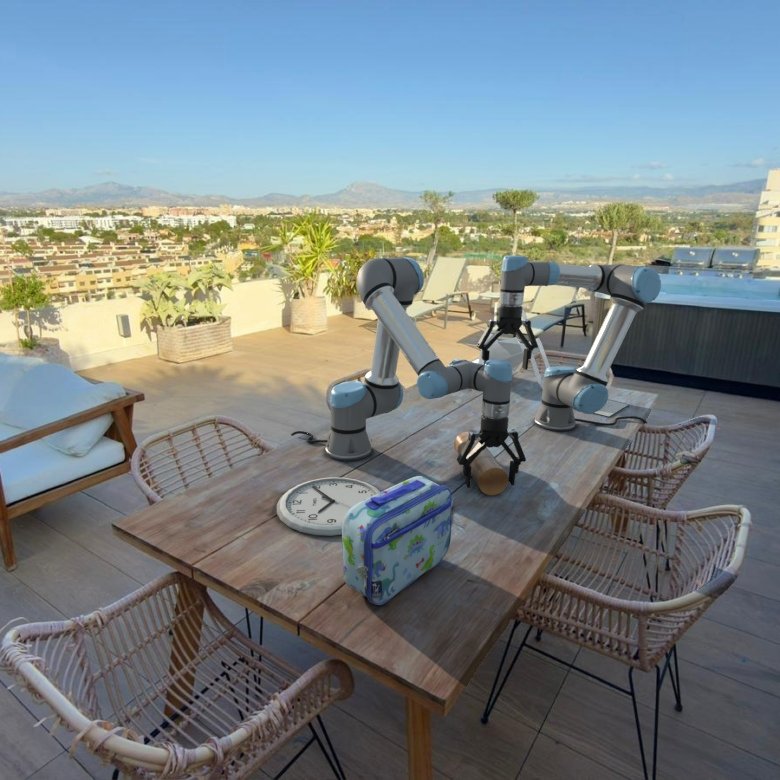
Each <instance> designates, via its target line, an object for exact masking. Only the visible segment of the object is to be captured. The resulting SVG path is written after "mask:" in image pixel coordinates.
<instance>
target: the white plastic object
mask: <svg viewBox="0 0 780 780" xmlns="http://www.w3.org/2000/svg"><path fill="white" fill-rule="evenodd" d="M526 319H527V320H529V319H528V316H527V313H526V311H525V309H524V308H523V310H522V321H524V320H526ZM493 334H494V333H492V332H491V333H490V335H489V337H488V338H487V340H488V339H489V338H490V337H491V336H492V335H493ZM535 339H536V342H537V344H538V347H537V348H534V349H533V350H532V354H531V359H529V361H530V363H531V366H532V369H533V372H534V375H535V379H536V382H537V383H538V385H539V386H540V388H541V389H542V390H543V380H542V379H543V378H542V377H541V373H540V371H539V367H538V364H537V362H536V359H535V355H534V354H537V353H540V354H541V357H542V360H543V363H544V366H545V370H546V369H547V368H549V367H551V365H550V363H549V360H548V356H547V354H546V352H545V351H546V350H545V348H544V346H543V342H542V341H541V339H540V337H537V338H535ZM487 340H486V342H487ZM519 340H520V339H519V337H518V336H517V337H516V336H514V337H510V338H506V339H502V340H499V339H497V340H496V341H495V342H494V343H493V344H492V345H491V346H490V347H489V349H488V350H489V351H490V353H489V360H492V359H498V360H506V361H508V362H510V363H511V364H512V369H514V368H515V367H517V366H518V365H519V364H521V363H523V354H524V349H527V348H526V346H525V345H524V344H523V342H520V341H519ZM486 342H485V343H486ZM528 342H529V343H530V345H531V342H530V340H528ZM481 357H482V349H480V352H479V356H478V358H477V359H475V360H473V361H472V362H474V363H478V364H482V365H484V360H483V359H482V358H481Z"/></svg>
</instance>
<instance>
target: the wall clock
mask: <svg viewBox="0 0 780 780" xmlns="http://www.w3.org/2000/svg"><path fill="white" fill-rule="evenodd" d="M380 492H382V491H381V490H380V489H379V488H377V487H376V486H374V485H372V484H371V483H369V482H365V481H362V480H359V479H355V478H349V477H338V476H337V477H335V476H333V477H332V476H331V477H322V478H317V479H312V480H307V481H305V482H302V483H299V484H297V485H295V486H293V487H292V488H290V489H288V490H287V491H286V492H285V493H284V494H283V495H281V496H280V498H279V499H278V502H277V503H276V515H277V517H278V518H279V520H280V521H281V522H282V523H283V524H285V525H286V526H287V527H288V528H290V529H293V530H295V531H297V532H299V533H303V534H308V535H312V536H327V537H328V536H329V537H331V536H332V537H333V536H342V525H343V521H344V518H345V516H346V514H347V512H348V511H349V510H350V509H351V508H352V507H353V506H354V505H356V504H358V503H360V502H362V501H364V500H366V499H368V498H370V497H372V496H374V495H376V494H378V493H380Z"/></svg>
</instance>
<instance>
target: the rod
mask: <svg viewBox="0 0 780 780" xmlns="http://www.w3.org/2000/svg"><path fill="white" fill-rule="evenodd" d="M469 432H470V431H463V432H461V433H459V434H458V435H457V436H456V437H455V439H454V442H453V449H454V451H455V452H456V453H457V455H458V456H459V454H460V452H461V451H462V449H463V447H464V445H465V443H466V441H467V439H468V436H469ZM479 440H480V437H478V438H477V440H475V442H474V444H473V446H472V448H471V450H470V452H471V451H472V450H473V448H474V447H475V446H476V445H477V443H478V442H479ZM470 452H469V453H470ZM470 465H471V467H472V468H471V478H472V479H473V480H474V482H475V483H476V485H477V487H478V488H479V490H480V491H481V492H482V493H483V494H485V495H487V496H497V495H499V494H501V493H503V492H504V490H506V488H507V486H508V484H509V481H508V480H509V474H508V473H507V472H506V470H505V469H504V467H502V465H501V464H500V463H499V461H498V460H497V459H496V458H495V456H494V455H493V454H492V452H491V451H490V450H489V448H488V447H486V448H485V449H484V450H482V451H481V453H480V454H479V455H478V456H477V457H476V458H475V459H474V460H473V462H472V463H471V464H470Z"/></svg>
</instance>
